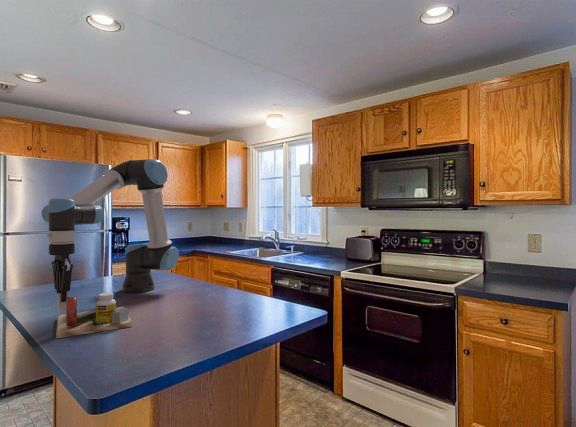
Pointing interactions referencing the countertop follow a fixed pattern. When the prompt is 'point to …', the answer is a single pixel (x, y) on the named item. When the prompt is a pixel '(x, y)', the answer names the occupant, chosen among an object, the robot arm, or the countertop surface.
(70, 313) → the lever
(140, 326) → the countertop surface
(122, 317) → the grey angular block
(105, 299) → the pill bottle
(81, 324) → the tan flat square sheet
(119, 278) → the countertop surface
